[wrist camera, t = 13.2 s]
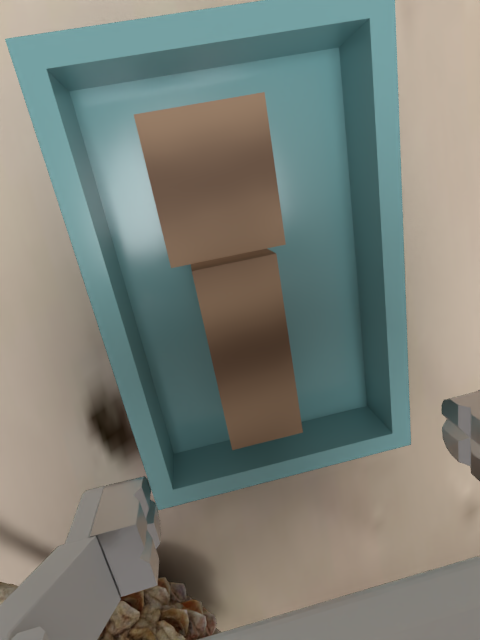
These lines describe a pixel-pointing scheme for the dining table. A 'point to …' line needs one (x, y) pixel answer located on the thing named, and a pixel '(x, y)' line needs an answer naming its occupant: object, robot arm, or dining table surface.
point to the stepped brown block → (229, 251)
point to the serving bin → (293, 258)
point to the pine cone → (153, 614)
